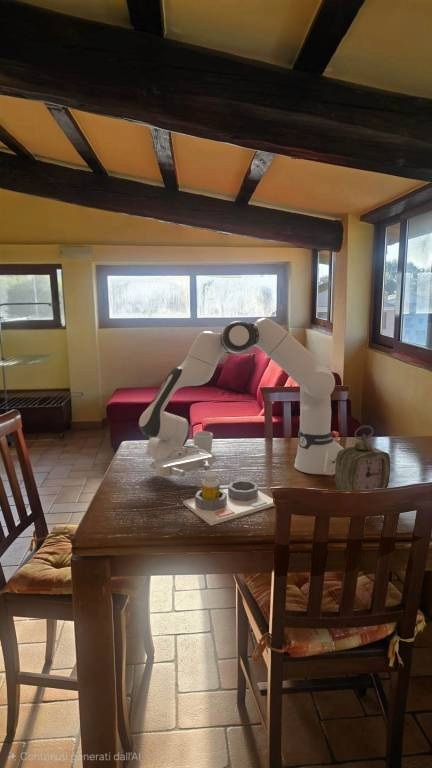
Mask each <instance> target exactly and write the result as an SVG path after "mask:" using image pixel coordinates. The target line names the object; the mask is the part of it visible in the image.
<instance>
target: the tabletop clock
mask: <svg viewBox="0 0 432 768" xmlns="http://www.w3.org/2000/svg"><path fill="white" fill-rule="evenodd" d="M362 429H370V431H371V433H370V435H368V436H366V434H362V436H361V437H359V436H357V433H358V431H360V430H362ZM373 435H374V429H373V427H372V426H370V425H362V426H360V427H358V428H357V429H356V430H355V432H354V437H355V438H356V439H357V441H356V442H355V444H354V445H353V446H350V447H345V448H344V449H342V450H340V451H339V452H338V454H337V458H336V466H335V474H334V475H335V476H334V480H335V484H336V488H337V490H338V491H339V490H362V489H374V488H387V487H389V483H390V476H391V457H390V453H389V452H386V451H383V450H381V449H379V448H376V447H374V446H372V443H371V442H370V441H369V440H368V439H370V438H371V437H372V436H373ZM387 489H388V488H387Z"/></svg>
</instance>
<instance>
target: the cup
mask: <svg viewBox="0 0 432 768" xmlns="http://www.w3.org/2000/svg"><path fill="white" fill-rule="evenodd" d="M192 437H193V444H194V445H193V446H198V447H199V449H202V450H205V451H207V452H209V453H210V454H211V452H212V447H213V445H212V444H213V437H214V434H213V432H210V431H206V430H201V431H196V432H194V433H193V436H192Z"/></svg>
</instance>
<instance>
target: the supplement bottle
mask: <svg viewBox="0 0 432 768" xmlns="http://www.w3.org/2000/svg"><path fill="white" fill-rule="evenodd" d="M220 487H221V485H220V480H219V479H218V473H217V472H215V471H206V472H204V473H203V480H202V482H201V490H202V498H203V499H208V500H215V499H218V498H220Z"/></svg>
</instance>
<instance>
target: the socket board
mask: <svg viewBox="0 0 432 768" xmlns="http://www.w3.org/2000/svg"><path fill="white" fill-rule="evenodd" d="M273 499H274V498H272V497H270V496H269V495H267V494H265V493H263V492H261V491H260V490H259V484H257V483H256V482H254V481H252V480H243V479H239V480H234V481H231V482H229V484H228V487H227V488H226V489H220V498H218V499H215V500H208V499H203V498H202V489H200V490H198V491H197V492H196V494H195V496H194V497H193V498H192V497H191V498H188V499H186V500H183V502H182V503H183V506H185V507H186V508H188V510H190V511H192V513H194V514H196V515H197V516H198V517H199V518H200V519H202V520H203V521H205V523H207V524H208V525H210V526H214V525H217V524H221V523H224V522H226V521H230V520H233V519H236V518H239V517H242V516H246V515H249V514H253V513H256V512H258V511H261V510H265V509H268V508H271V507H274V504H273Z"/></svg>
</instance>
